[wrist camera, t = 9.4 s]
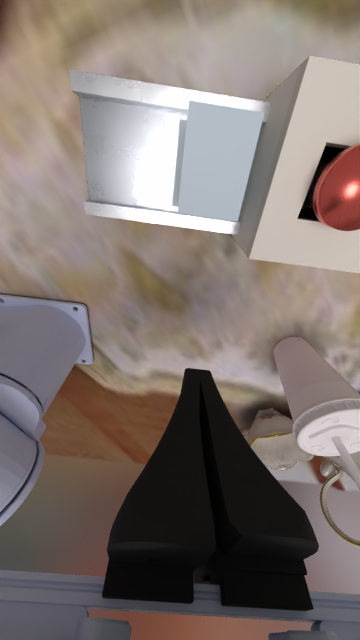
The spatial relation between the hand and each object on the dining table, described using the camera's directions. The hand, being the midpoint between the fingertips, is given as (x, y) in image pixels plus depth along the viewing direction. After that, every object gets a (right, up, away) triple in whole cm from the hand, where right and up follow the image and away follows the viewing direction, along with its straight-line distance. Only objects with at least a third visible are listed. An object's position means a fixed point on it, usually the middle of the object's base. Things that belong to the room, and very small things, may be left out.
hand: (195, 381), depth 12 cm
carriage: (+1, +13, +2) cm, 14 cm away
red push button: (+7, +12, +1) cm, 14 cm away
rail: (-2, +14, +3) cm, 15 cm away
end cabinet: (+7, +13, +4) cm, 15 cm away
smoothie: (+11, 0, +12) cm, 17 cm away
